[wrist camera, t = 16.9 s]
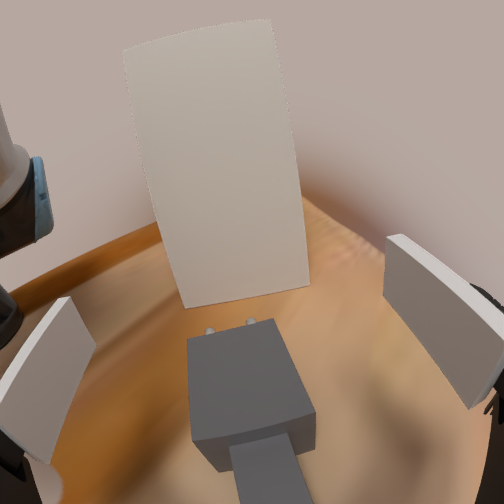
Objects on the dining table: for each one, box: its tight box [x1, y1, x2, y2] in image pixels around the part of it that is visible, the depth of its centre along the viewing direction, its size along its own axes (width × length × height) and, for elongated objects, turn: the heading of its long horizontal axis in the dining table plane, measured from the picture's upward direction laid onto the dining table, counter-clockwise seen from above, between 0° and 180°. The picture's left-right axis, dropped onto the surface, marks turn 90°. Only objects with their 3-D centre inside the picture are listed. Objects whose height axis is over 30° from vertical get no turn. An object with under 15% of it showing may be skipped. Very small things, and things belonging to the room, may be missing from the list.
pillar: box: [123, 19, 310, 309], centre depth 30 cm, size 12×14×28 cm
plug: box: [187, 318, 316, 504], centre depth 12 cm, size 19×6×5 cm, turn 11°
